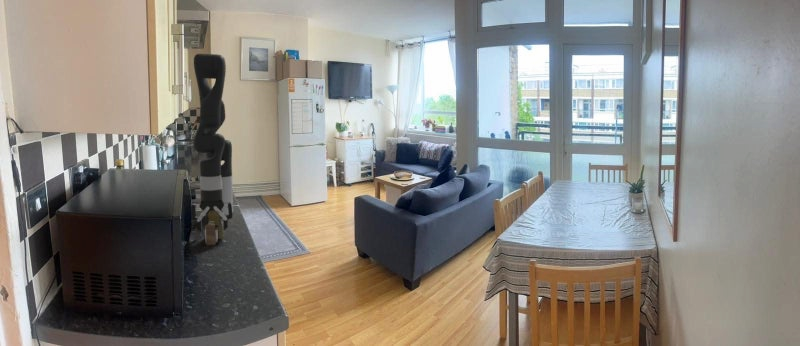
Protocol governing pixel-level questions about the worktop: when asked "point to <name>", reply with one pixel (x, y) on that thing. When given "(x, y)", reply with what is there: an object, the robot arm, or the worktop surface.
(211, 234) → the beige upright block
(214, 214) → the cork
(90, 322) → the worktop surface
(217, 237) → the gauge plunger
